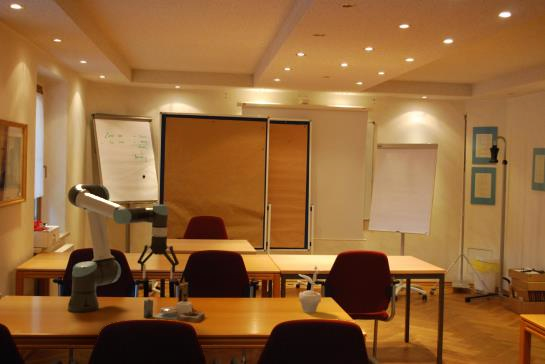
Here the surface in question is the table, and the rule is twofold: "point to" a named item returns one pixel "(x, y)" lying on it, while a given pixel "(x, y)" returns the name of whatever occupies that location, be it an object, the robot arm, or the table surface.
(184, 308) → the cup
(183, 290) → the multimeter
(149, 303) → the cell
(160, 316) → the base
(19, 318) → the table surface
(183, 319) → the brown square tray
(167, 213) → the robot arm
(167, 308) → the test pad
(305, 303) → the potted plant
